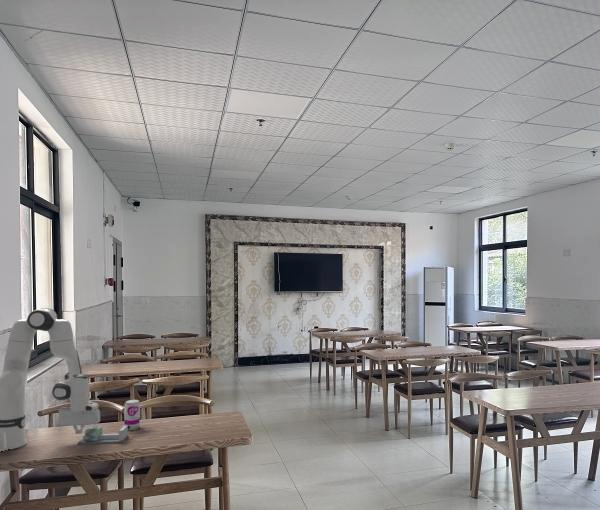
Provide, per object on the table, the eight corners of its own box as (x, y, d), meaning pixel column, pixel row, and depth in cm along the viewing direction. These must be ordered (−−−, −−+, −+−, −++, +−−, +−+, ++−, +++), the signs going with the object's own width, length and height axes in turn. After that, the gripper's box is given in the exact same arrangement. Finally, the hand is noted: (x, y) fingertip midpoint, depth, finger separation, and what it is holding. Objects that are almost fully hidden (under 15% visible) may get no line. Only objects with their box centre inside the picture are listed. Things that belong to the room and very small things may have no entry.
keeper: (84, 440, 224) (85, 430, 224) (90, 436, 231) (90, 426, 231) (96, 440, 224) (97, 430, 225) (101, 435, 231) (102, 426, 232)
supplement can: (139, 429, 245) (140, 402, 246) (124, 431, 242) (124, 403, 243) (139, 425, 253) (139, 398, 254) (124, 427, 250) (124, 400, 251)
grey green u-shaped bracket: (77, 444, 222) (77, 432, 222) (85, 438, 232) (85, 426, 232) (121, 443, 224) (122, 431, 224) (127, 436, 234) (128, 425, 234)
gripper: (55, 408, 224) (55, 436, 223) (97, 407, 226) (96, 434, 225) (61, 405, 230) (60, 432, 229) (101, 403, 232) (101, 430, 231)
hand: (78, 433), depth 227 cm, fingers closed
